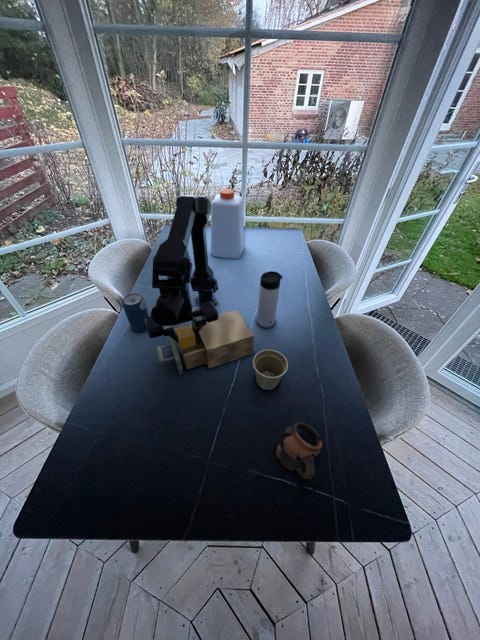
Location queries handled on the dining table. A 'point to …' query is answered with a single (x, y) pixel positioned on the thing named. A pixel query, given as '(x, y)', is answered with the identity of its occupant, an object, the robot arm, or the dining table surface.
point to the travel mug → (268, 298)
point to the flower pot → (269, 368)
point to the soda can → (136, 311)
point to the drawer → (185, 354)
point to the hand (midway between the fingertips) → (186, 339)
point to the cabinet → (226, 339)
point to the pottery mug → (299, 451)
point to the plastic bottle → (227, 225)
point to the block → (185, 336)
